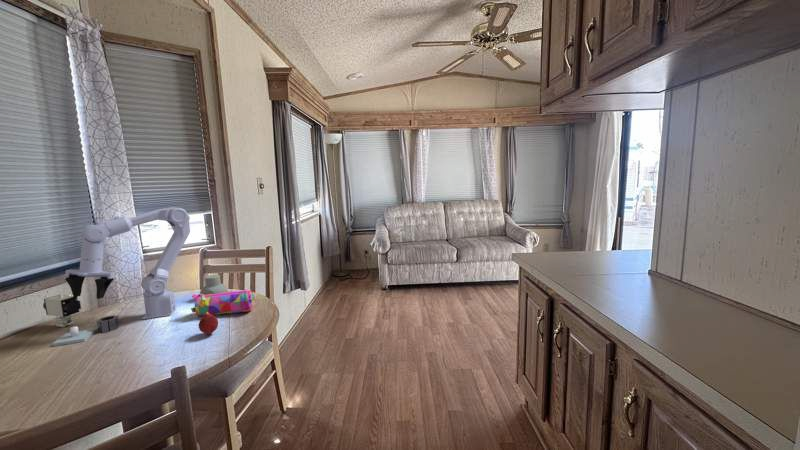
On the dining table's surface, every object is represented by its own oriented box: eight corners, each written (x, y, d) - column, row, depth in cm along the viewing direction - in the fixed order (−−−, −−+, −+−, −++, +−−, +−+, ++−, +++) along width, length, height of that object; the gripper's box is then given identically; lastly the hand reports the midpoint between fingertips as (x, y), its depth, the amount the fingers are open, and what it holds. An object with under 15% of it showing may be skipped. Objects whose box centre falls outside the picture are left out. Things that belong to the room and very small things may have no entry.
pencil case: (190, 321, 123) (188, 298, 122) (199, 311, 133) (197, 290, 131) (251, 314, 128) (249, 293, 127) (256, 306, 138) (254, 285, 136)
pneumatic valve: (69, 329, 117) (64, 297, 116) (45, 326, 120) (40, 295, 118) (86, 323, 123) (82, 292, 121) (64, 320, 125) (59, 290, 124)
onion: (222, 332, 113) (220, 310, 112) (207, 339, 108) (204, 316, 107) (211, 329, 116) (209, 308, 115) (196, 336, 111) (193, 314, 109)
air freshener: (231, 294, 152) (229, 274, 150) (218, 301, 144) (216, 279, 142) (211, 293, 154) (209, 273, 153) (197, 299, 146) (194, 278, 144)
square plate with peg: (95, 331, 115) (94, 320, 115) (84, 341, 108) (83, 330, 108) (66, 335, 112) (64, 325, 112) (52, 346, 105) (50, 334, 105)
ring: (121, 324, 121) (119, 314, 120) (115, 330, 116) (113, 320, 115) (102, 327, 119) (101, 317, 118) (95, 333, 114) (94, 322, 113)
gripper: (58, 258, 109) (55, 298, 109) (104, 262, 110) (101, 301, 111) (77, 256, 116) (73, 293, 116) (120, 259, 118) (117, 296, 118)
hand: (88, 297), depth 114 cm, fingers open, 7 cm apart
